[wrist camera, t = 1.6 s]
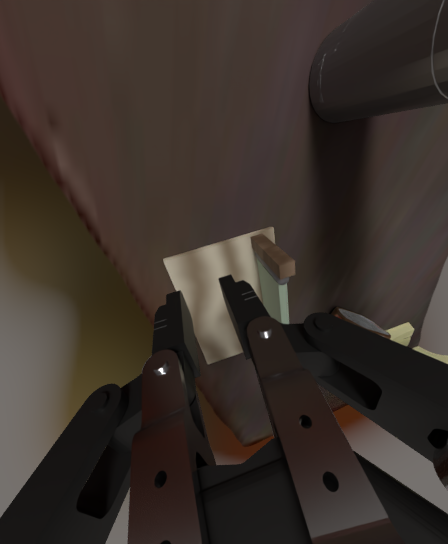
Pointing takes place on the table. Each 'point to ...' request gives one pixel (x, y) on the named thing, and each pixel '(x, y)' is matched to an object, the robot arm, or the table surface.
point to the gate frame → (207, 292)
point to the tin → (360, 321)
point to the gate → (273, 292)
